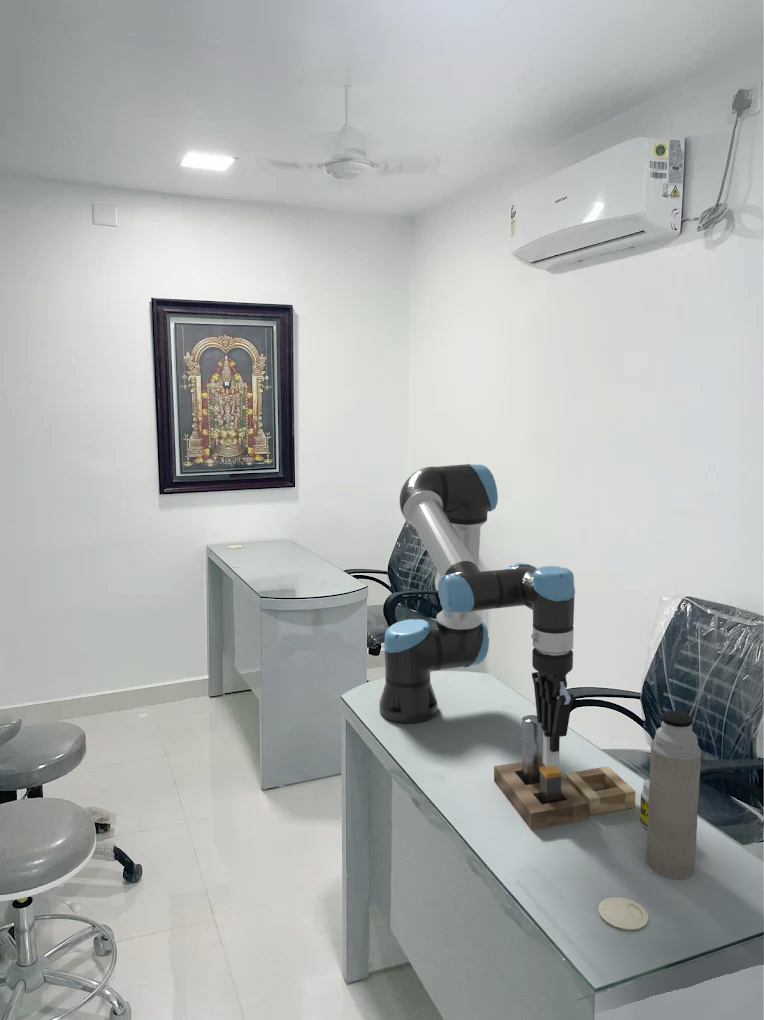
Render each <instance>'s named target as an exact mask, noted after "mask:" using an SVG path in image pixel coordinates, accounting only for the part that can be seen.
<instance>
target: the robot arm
mask: <svg viewBox="0 0 764 1020" xmlns="http://www.w3.org/2000/svg"><path fill="white" fill-rule="evenodd" d="M498 497H499V496H498V488H497V483H496V480H495V477H494V475H493V473H492V472H491V470H490V469H489V468H488V467H487V466H485V465H483V464H471V463H467V464H466V463H465V464H457V465H443V466H441V465H440V466H427V467H423V468H421V469H418V470H416V471H415V472H413V473H412V474H411V475H410V476H409V477H408V478H407V479H406V481H405V482H404V484H403V485H402V487H401V490H400V495H399V508H400V512H401V513H402V516H403V518H404V519H405V521H406V522H407V523H408V524H410V525H412V526H413V527H414V529H415V531H416V533H417V534H418V536H419V539H420V540H421V542H422V544H423V546H424V547H425V550H426V551H427V554H428V555H429V557H430V559H431V561H432V563H433V564H434V566H435V568H436V570H437V572H438V574H439V576H440V579H439V581H438V585H437V588H438V589H437V594H438V598H439V601H440V606H441V607H442V610H441V611H439V612H438V613H437V615H436V623H435V624H430V623H429V622H428V621H426V620H425V619H419V618H417V619H415V618H409V619H404V620H400V621H397V622H395V623H393V624H392V625H390V626H389V627H388V628H387V629H386V631H385V633H384V644H383V650H384V670H385V673H384V675H385V683H384V686H383V689H382V693H381V696H380V699H379V713H380V716H382V717H383V719H386V720H388V721H391V722H394V723H400V724H415V723H421V722H422V723H423V722H425V721H428V720H430V719H432V718H434V717H435V716H436V715H437V714H438V709H439V708H438V700H437V697H436V694H435V691H434V688H433V686H432V683H431V672H433V671H434V672H435V671H442V670H448V669H458V668H470V667H471V666H476V665H479V664H481V663H482V662H483V661H484V660H485V659H486V657H487V656H488V652H489V651H488V650H489V645H490V637H489V636H488V635H489V631H488V629H489V628H488V627H487V625H486V623H485V622H484V620H482V617H481V616H480V615H479V614H478V613H477V612H478V611H485V610H486V611H487V610H494V609H495V610H496V609H503V608H511V607H512V608H513V607H524V606H525V607H527V608H528V609H530V610H532V634H531V635H530V637H531V639H532V647H534V648H533V649H532V667H533V669H534V670H535V672H531V678H532V682H533V683H532V684H533V688H534V689H533V690H534V698H535V707H536V708H535V709H536V716H537V721H538V723H541V727H542V730H543V731H544V732H543V763H544V765H545V766H546V767H548V766H554V765H555V766H559V765H560V743H561V742H560V741H561V738H562V737H566V736H567V734H568V727H569V721H570V716H571V709H572V704H573V703H574V701H575V696H574V694H573V693H571V694H569V692H568V690H567V687H568V681H567V674H569V673H570V672H571V671H572V670H573V667H574V651H573V649H574V634H575V633H574V628H575V627H574V620H575V619H574V617H575V615H574V614H575V593H576V589H575V588H576V587H575V577H574V573H573V572H572V571H571V570H570V569H569V568H566V567H561V566H555V565H551V566H550V565H547V566H541V567H536V566H534V565H531V564H528V563H524V562H516V563H513V564H511V565H510V566H509V567H507V568H506V569H497V570H494V569H493V570H484V571H481V570H480V569H479V565H480V564H479V563H480V562H479V561H480V543H481V527H482V526H483V525H484V524H486V523H487V521H488V512H489V513H490V512H493V511H494V510H495V509H496V508H497V505H498V503H499V502H498V500H499V498H498Z"/></svg>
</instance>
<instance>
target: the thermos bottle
mask: <svg viewBox="0 0 764 1020" xmlns="http://www.w3.org/2000/svg"><path fill="white" fill-rule="evenodd" d="M660 719H661V726H660V727H658V728H657V729H656V731H655V735H654V738H653V739H652V741H651V743H650V757H649V758H650V760H649V763H650V764H649V803H648V828H647V829H646V832H647V833H646V851H645V852H646V853H645V855H646V856H645V860H646V864H647V866H648V867H649V869H651V870H652V871H653V872H654V873H656V874H658V875H659V876H661V877H664V878H668V879H672V880H682V879H687V878H690V877H691V876H692V875H693V874H694V872H695V869H696V853H697V851H696V850H697V835H698V834H697V832H698V808H699V798H700V797H699V795H700V782H701V781H700V780H701V778H700V777H701V763H702V762H701V761H702V749H701V748H700V746H699V740H698V736H697V734H696V733H695V732H694V731H693V717H692V716H691V715H690V714H688V713H687V712H683V711H680V710H666V711H664V712H662V713H661V717H660Z"/></svg>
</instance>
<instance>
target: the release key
mask: <svg viewBox="0 0 764 1020" xmlns="http://www.w3.org/2000/svg"><path fill="white" fill-rule="evenodd" d="M539 771H540V799H541V801H542V802H543V803H544V804H548V803H554V802H560V801H561V776H563V772H562V771H561V770H560V769H559V767H557V765H554V766H548V767H546V766H542V767H539Z"/></svg>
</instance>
